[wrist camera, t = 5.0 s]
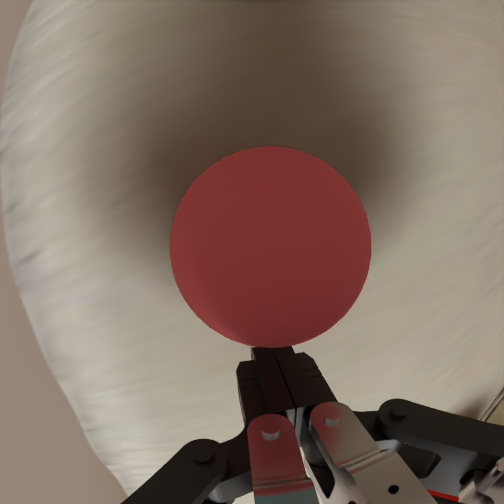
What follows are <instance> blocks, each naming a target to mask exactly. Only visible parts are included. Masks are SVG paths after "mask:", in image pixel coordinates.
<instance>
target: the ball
mask: <svg viewBox="0 0 504 504" xmlns="http://www.w3.org/2000/svg"><path fill="white" fill-rule="evenodd" d="M370 258H371V234H370V229H369V225H368V220H367V216H366V213H365V211H364V209H363V206H362V204H361V202H360V200H359V197H358V196H357V194H356V193H355V191H354V190H353V188H352V187H351V186H350V184H349V183H348V182H347V181H346V179H345V178H344V177H343V176H342V175H341V174H340V173H339V172H337V171H336V170H335V169H334V168H333V167H331V166H330V165H329V164H327V163H326V162H324V161H323V160H321V159H319V158H317V157H315V156H313V155H311V154H309V153H306V152H303V151H300V150H297V149H293V148H288V147H281V146H260V147H252V148H248V149H244V150H240V151H237V152H235V153H232V154H230V155H227V156H226V157H224V158H222V159H220V160H218V161H217V162H215V163H214V164H212V165H211V166H210V167H208V168H207V169H206V170H205V171H204V172H203V173H202V174H200V175H199V176H198V177H197V178H196V179H195V180H194V182H193V183H192V184H191V185H190V187H189V188H188V189H187V191H186V193H185V194H184V196H183V198H182V200H181V202H180V204H179V206H178V208H177V211H176V213H175V216H174V220H173V224H172V229H171V234H170V259H171V265H172V270H173V274H174V277H175V280H176V283H177V285H178V288H179V290H180V292H181V294H182V296H183V297H184V299H185V301H186V302H187V304H188V305H189V307H190V308H191V309H192V310H193V312H194V313H195V314H196V315H197V316H198V317H199V318H200V319H201V320H202V321H203V322H204V323H205V324H207V325H208V326H209V327H210V328H211V329H213V330H215V331H216V332H218V333H219V334H221V335H223V336H224V337H226V338H229V339H231V340H233V341H236V342H239V343H242V344H246V345H250V346H256V347H267V348H276V347H286V346H291V345H296V344H299V343H302V342H305V341H308V340H310V339H313V338H315V337H317V336H319V335H320V334H322V333H324V332H325V331H327V330H328V329H330V328H331V327H332V326H333V325H335V324H336V323H337V322H338V321H339V320H340V319H341V318H342V317H343V316H344V315H345V314H346V313H347V312H348V311H349V309H350V308H351V307H352V305H353V304H354V302H355V301H356V299H357V298H358V296H359V294H360V292H361V290H362V288H363V285H364V283H365V280H366V277H367V274H368V270H369V265H370Z"/></svg>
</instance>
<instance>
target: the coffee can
mask: <svg viewBox="0 0 504 504" xmlns="http://www.w3.org/2000/svg"><path fill="white" fill-rule="evenodd" d="M480 421H484V422H489V423H493V424H498V425H503V426H504V390H503V391H502V392H501V394H500V395H499V396H498V397H497V398H496V400H495V401H494V402H493V404H492V405H491V406H490V407H489V409H488V410H487V412H486V413H485V414H484V416H483V417H482V419H481V420H480Z"/></svg>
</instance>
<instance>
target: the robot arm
mask: <svg viewBox="0 0 504 504" xmlns="http://www.w3.org/2000/svg"><path fill="white" fill-rule="evenodd" d="M251 359H252V360H250V361H242V362H240V363H239V365H238V368H237V370H236V375H237V384H238V393H239V400H240V405H241V411H242V415H243V421H244V426H245V427H244V429H243V431H242V432H241V433H240V434H239V435H238V436H236V437H235V438H233V439H231V440H228V441H226V442H223V443H218V442H217V441H214V440H210V439H197V440H193V441H191V442H189V443H187V444H186V445H184V446H183V447H182V448H181V449H180V450H179V451H178V452H177V453H176V454H175V455H174V456H173V457H172V458H171V459H170V460H169V461H168V462H167V463H166V464H165V465H164V466H163V467H162V468H160V469H159V470H158V471H157V472H156V473H155V474H154V475H153V476H152V477H151V478H150V479H148V480H147V481H146V482H145V483H144V484H143V485H142V486H141V487H140V488H138V489H137V490H136V491H135V492H134V493H133V494H132V495H130V496H129V497H128V498H127V499H126V500H125V501H123V502H122V503H121V504H232V503H233V502H234V500H235V498H238V497H240V496H243V495H245V494H248V493H250V492H252V491H254V499H255V504H319V501H318V497H317V494H316V490H315V487H316V489H317V491H318V493H319V495H320V497H321V499H322V501H323V504H504V426H503V425H498V424H493V423H489V422H484V421H480V420H476V419H471V418H467V417H463V416H459V415H456V414H452V413H448V412H444V411H441V410H437V409H434V408H430V407H427V406H424V405H420V404H417V403H414V402H411V401H407V400H404V399H391V400H388V401H386V402H384V403H383V404H382V405H381V406H380V408H379V410H378V411H366V412H357V411H352V410H351V409H350V408H349V407H348V406H347V405H345V404H343V403H340V402H338V401H337V400H336V398H335V396H334V394H333V393H332V391H331V389H330V387H329V386H328V384H327V382H326V380H325V379H324V377H323V376H322V373H321V372H320V370H319V369H318V366H317V365H316V363H315V361H314V360H313V358H311V357H310V356H309V355H307V354H306V353H304V352H302V353H296V354H295V352H294V350H293V348H292V346H286V347H276V348H267V347H252V348H251ZM405 443H406V444H405ZM408 444H409V445H408ZM411 445H412V446H411ZM414 446H415V447H414ZM299 447H302V449H303V452H304V464H303V460H302V456H301V452H300V449H299ZM417 447H418V448H417ZM420 448H421V449H420ZM424 449H425V450H424ZM427 450H428V451H427ZM304 465H305V467H306V469H307V471H308V473H309V475H310V477H311V478H308V477H307V474H306V471H305V467H304ZM313 483H314V484H313ZM314 485H315V487H314ZM426 489H429V490H433V491H437V492H440V493H444V494H449V495H453V496H458V497H459V501H458V502H457V501H453V500H449V499H446V498H442V497H439V496H435V495H431V494H430V493H429V492H428V491H427V490H426Z"/></svg>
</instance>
